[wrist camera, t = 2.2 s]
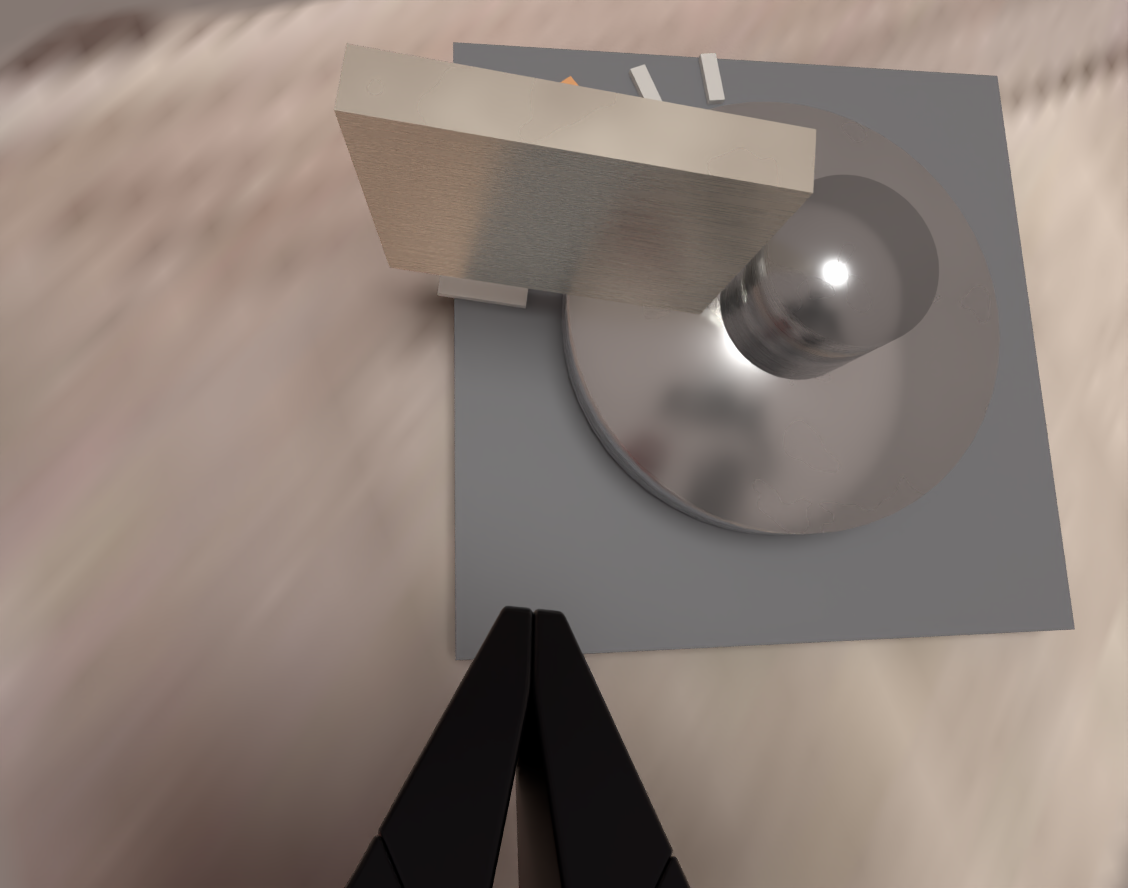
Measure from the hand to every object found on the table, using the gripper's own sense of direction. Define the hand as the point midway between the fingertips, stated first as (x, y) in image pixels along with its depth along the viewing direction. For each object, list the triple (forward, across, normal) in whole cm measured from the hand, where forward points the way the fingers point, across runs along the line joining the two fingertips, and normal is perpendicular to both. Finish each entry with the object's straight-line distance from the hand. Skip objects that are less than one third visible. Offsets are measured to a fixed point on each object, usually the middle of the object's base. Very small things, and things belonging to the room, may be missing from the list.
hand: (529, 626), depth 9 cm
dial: (+12, -4, 0) cm, 12 cm away
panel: (+13, -6, +1) cm, 14 cm away
